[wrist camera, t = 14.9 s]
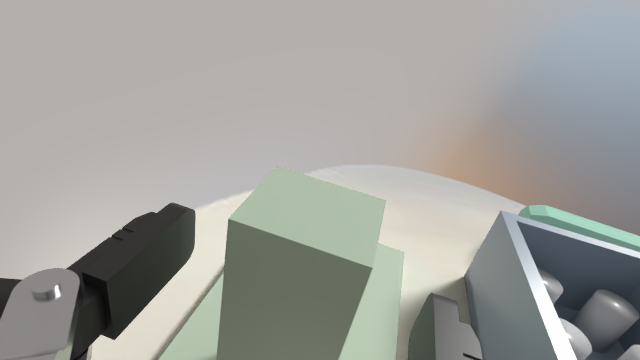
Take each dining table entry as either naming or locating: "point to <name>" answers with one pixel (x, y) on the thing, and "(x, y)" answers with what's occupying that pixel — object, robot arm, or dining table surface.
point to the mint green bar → (581, 226)
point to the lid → (300, 279)
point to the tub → (553, 294)
